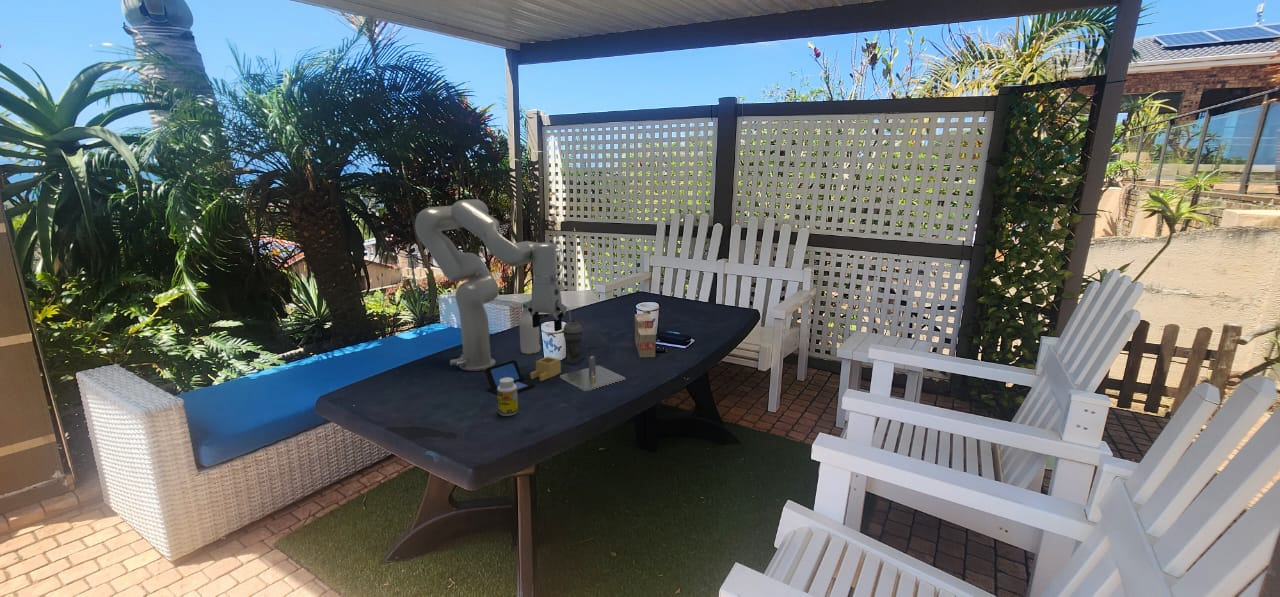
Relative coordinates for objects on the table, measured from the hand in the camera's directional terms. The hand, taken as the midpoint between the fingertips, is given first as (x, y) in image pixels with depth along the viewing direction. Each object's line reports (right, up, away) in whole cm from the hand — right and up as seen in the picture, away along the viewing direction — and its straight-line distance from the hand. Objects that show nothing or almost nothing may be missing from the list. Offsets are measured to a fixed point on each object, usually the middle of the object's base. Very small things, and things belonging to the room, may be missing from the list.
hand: (547, 328), depth 183 cm
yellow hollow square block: (-1, -16, +2) cm, 17 cm away
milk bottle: (-12, -11, +28) cm, 32 cm away
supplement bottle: (-6, -23, -28) cm, 37 cm away
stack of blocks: (+34, -10, +31) cm, 47 cm away
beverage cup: (+7, -13, +17) cm, 22 cm away
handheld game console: (-10, -19, -9) cm, 24 cm away
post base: (+16, -17, -2) cm, 23 cm away
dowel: (+16, -18, -6) cm, 25 cm away
